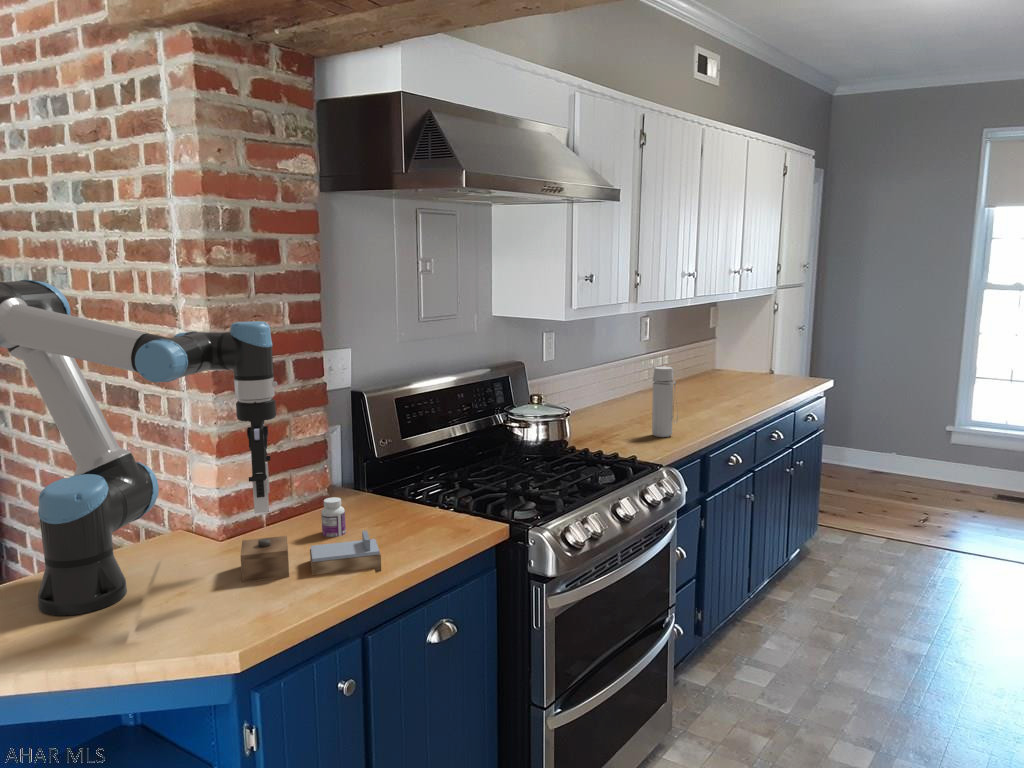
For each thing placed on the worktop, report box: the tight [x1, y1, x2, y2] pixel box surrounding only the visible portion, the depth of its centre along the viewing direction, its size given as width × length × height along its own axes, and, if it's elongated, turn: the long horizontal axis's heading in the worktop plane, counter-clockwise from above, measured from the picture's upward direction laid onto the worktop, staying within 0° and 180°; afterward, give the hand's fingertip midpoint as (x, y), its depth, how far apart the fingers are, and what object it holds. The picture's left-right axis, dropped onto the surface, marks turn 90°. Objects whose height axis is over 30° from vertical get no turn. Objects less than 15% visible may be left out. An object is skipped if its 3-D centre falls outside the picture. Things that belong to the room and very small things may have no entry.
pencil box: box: [309, 548, 382, 576], centre depth 166 cm, size 14×8×4 cm, turn 106°
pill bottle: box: [320, 496, 347, 538], centre depth 185 cm, size 5×5×10 cm
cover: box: [240, 535, 290, 583], centre depth 163 cm, size 9×9×8 cm
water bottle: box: [651, 366, 679, 438], centre depth 287 cm, size 9×8×25 cm
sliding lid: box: [310, 530, 381, 562], centre depth 166 cm, size 14×8×3 cm, turn 106°
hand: (262, 502), depth 161 cm, fingers open, 13 cm apart
